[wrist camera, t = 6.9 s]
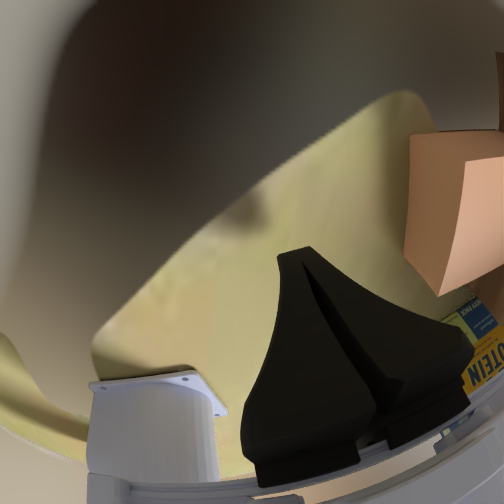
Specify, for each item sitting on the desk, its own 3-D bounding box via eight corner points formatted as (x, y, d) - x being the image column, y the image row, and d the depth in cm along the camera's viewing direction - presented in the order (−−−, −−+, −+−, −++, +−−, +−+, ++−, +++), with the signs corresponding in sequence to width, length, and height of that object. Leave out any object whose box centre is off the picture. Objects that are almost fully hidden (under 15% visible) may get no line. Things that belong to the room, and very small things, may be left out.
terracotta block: (400, 252, 15) (437, 297, 12) (406, 133, 11) (465, 161, 8) (482, 223, 15) (518, 255, 12) (494, 129, 11) (542, 152, 8)
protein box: (502, 273, 19) (584, 387, 6) (476, 347, 27) (523, 431, 15) (425, 328, 20) (501, 474, 7) (416, 387, 29) (457, 481, 16)
